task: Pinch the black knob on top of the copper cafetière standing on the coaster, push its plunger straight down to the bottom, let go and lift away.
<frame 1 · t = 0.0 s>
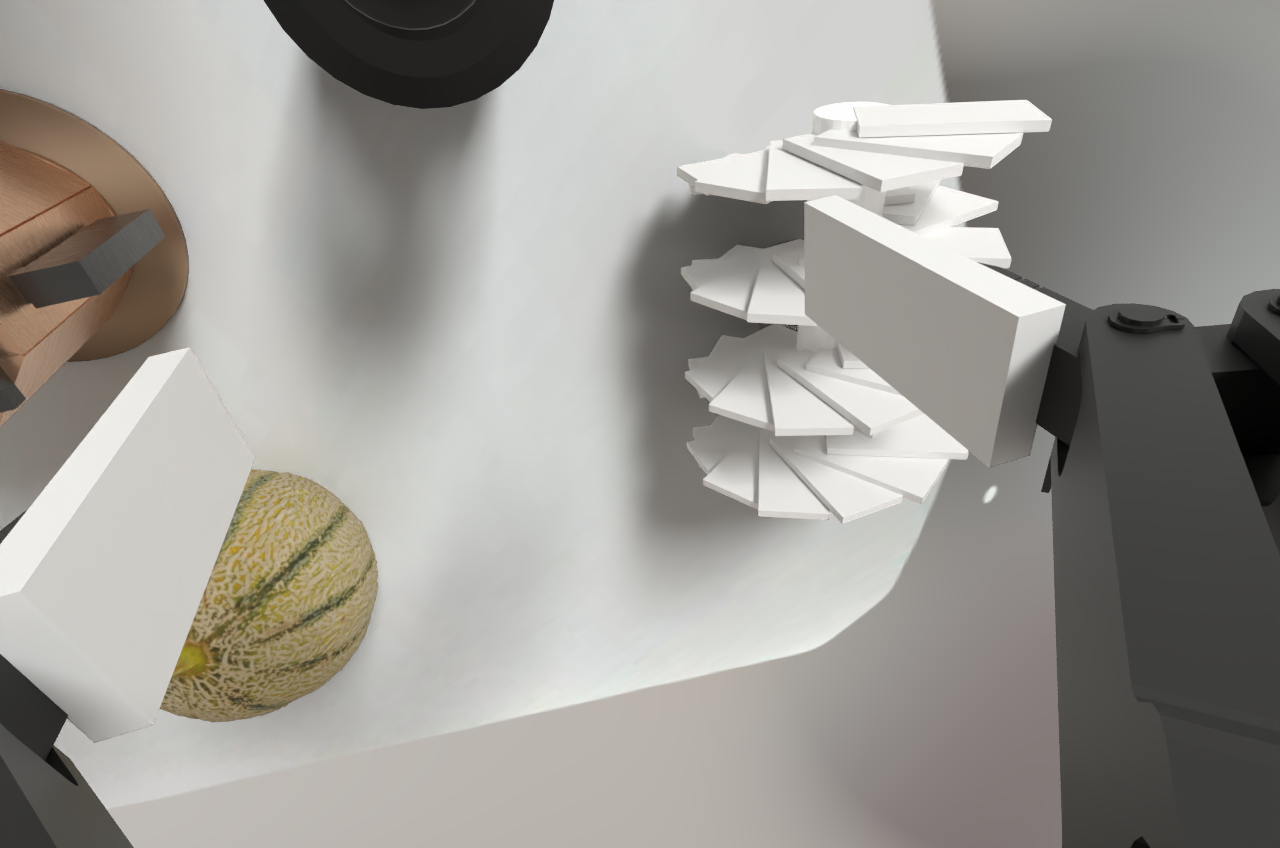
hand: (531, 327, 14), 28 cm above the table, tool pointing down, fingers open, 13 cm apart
carafe: (25, 238, 34), resting on coaster
coaster: (31, 235, 35), on the table
spiral staircase: (768, 282, 48), on the table
cantaloupe: (274, 513, 47), on the table
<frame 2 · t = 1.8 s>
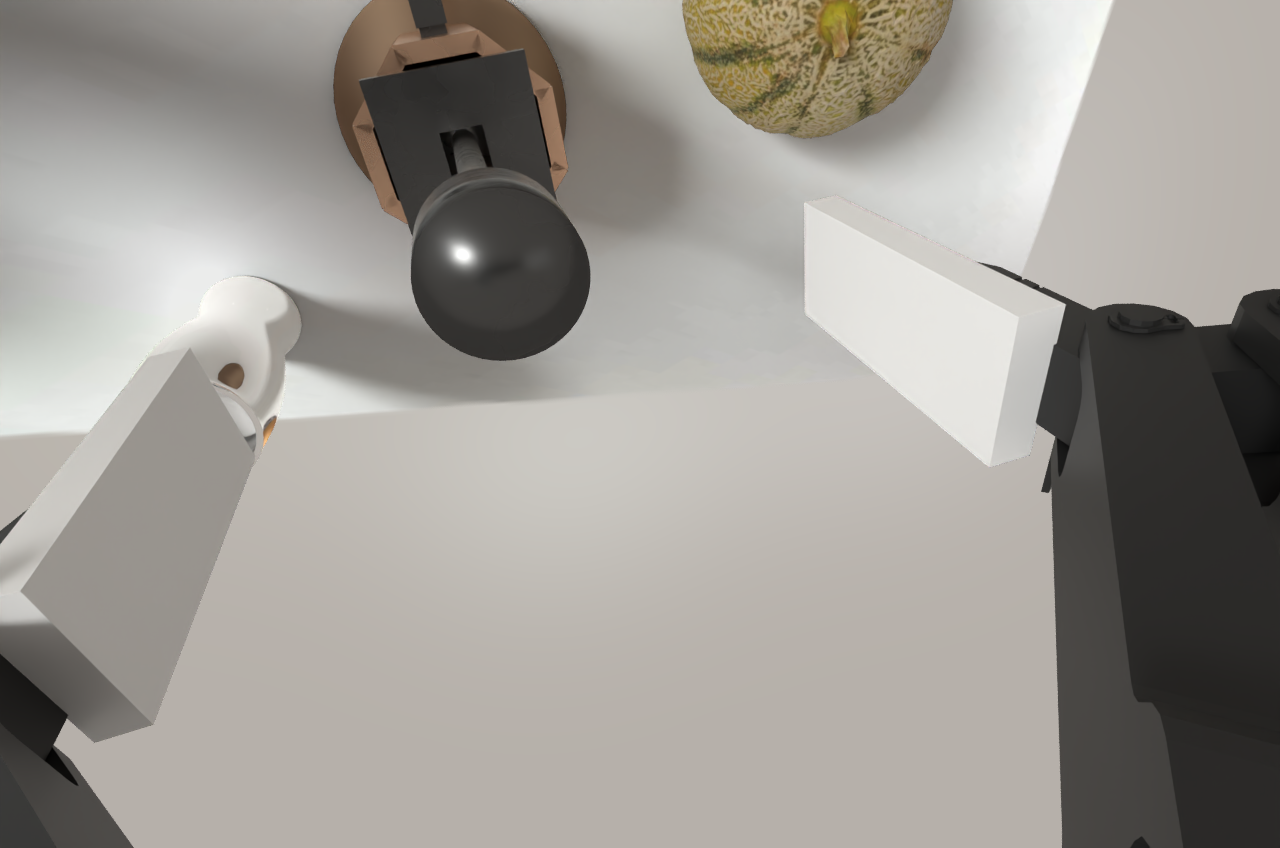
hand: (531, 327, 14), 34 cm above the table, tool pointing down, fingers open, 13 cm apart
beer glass: (253, 316, 46), on the table
carafe: (455, 112, 42), resting on coaster
coaster: (455, 110, 42), on the table
plunger: (476, 186, 25), point 21 cm above the table, slide at 0.0 cm
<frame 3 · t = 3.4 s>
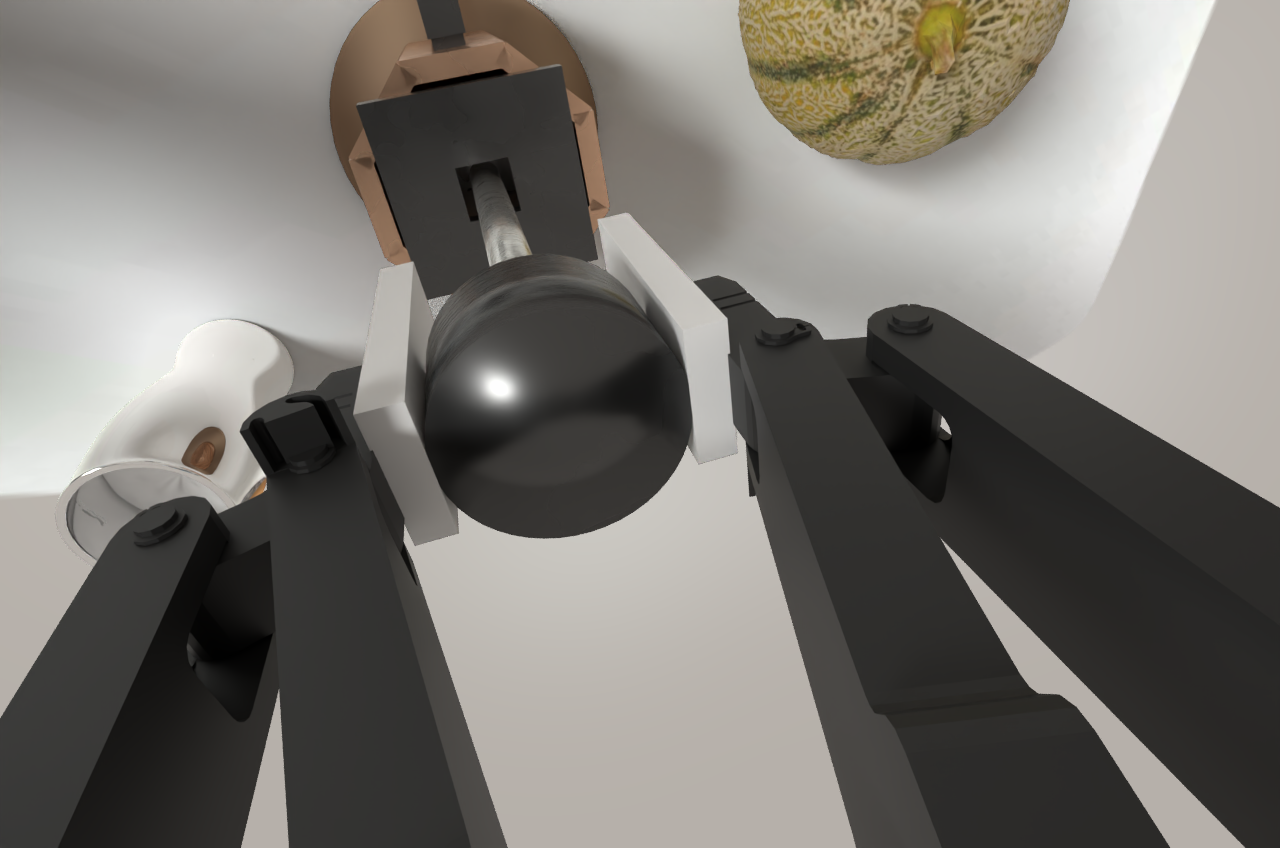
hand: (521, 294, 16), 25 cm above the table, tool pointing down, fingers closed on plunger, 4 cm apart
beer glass: (238, 364, 40), on the table
carafe: (471, 133, 36), resting on coaster
coaster: (470, 131, 36), on the table
plunger: (506, 245, 19), point 21 cm above the table, slide at 0.0 cm, touching gripper
cantaloupe: (820, 0, 38), on the table
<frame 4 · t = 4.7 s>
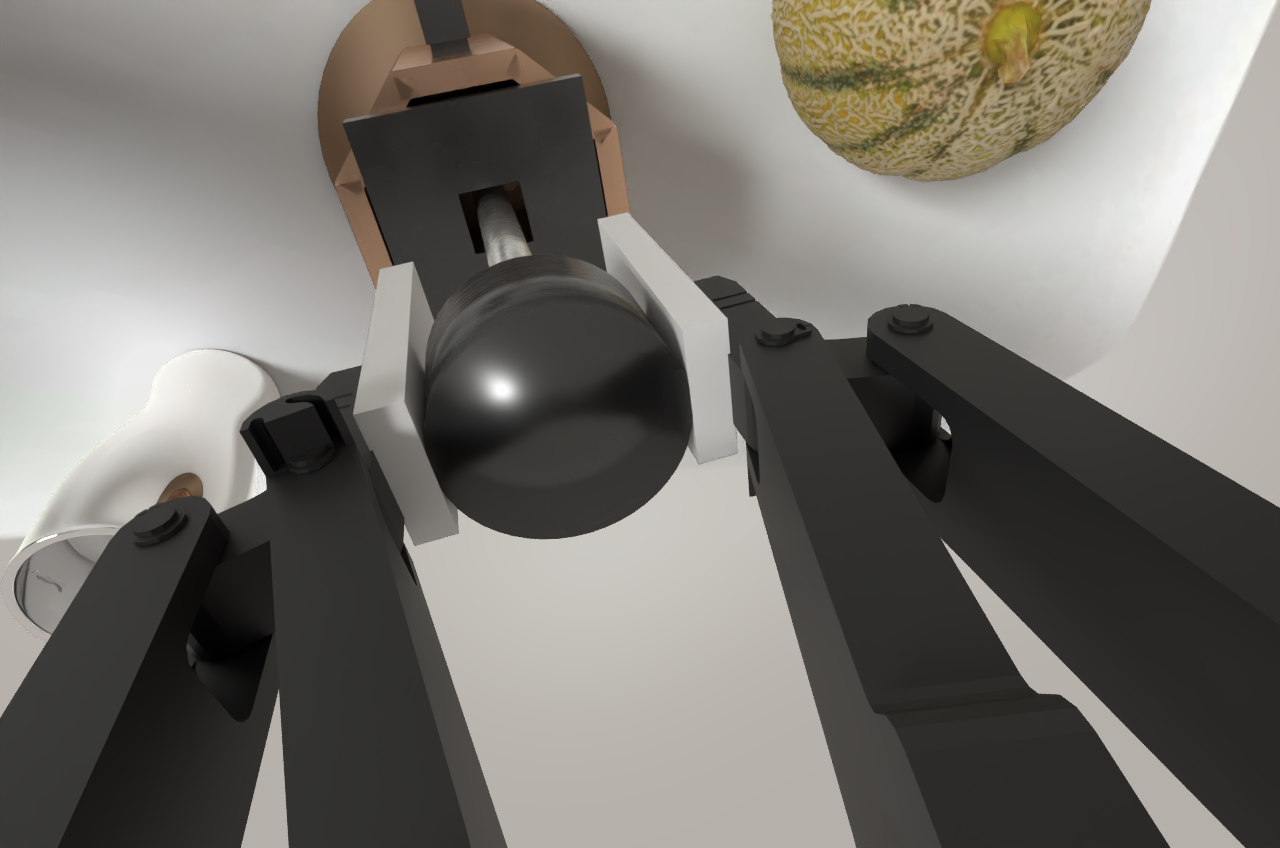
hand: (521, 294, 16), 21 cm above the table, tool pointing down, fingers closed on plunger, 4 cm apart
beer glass: (220, 396, 37), on the table
carafe: (474, 146, 33), resting on coaster
coaster: (473, 143, 33), on the table
plunger: (505, 245, 19), point 17 cm above the table, slide at 4.0 cm, touching gripper
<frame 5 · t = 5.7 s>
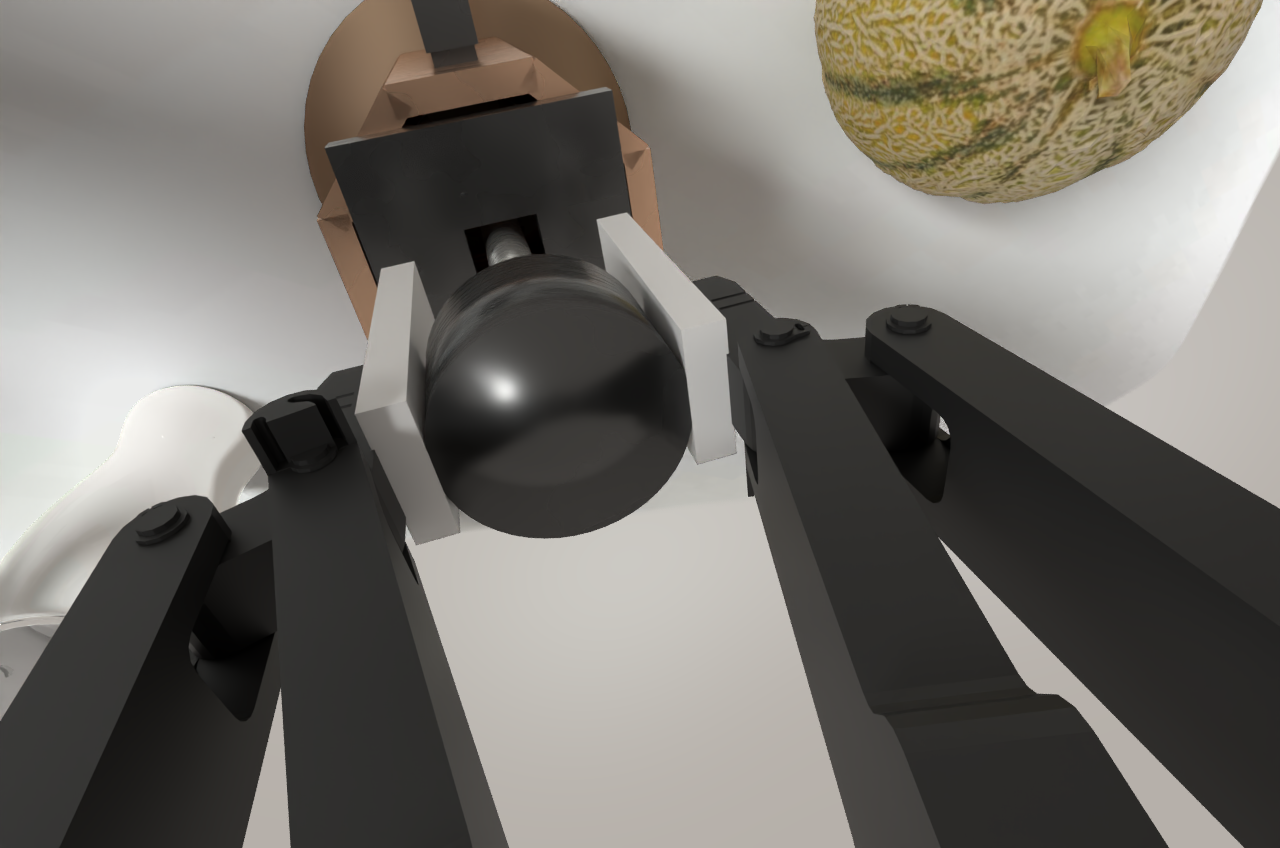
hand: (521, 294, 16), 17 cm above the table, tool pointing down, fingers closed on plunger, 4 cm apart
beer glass: (200, 435, 33), on the table
carafe: (479, 162, 29), resting on coaster
coaster: (478, 159, 30), on the table
plunger: (505, 245, 19), point 13 cm above the table, slide at 8.1 cm, touching gripper
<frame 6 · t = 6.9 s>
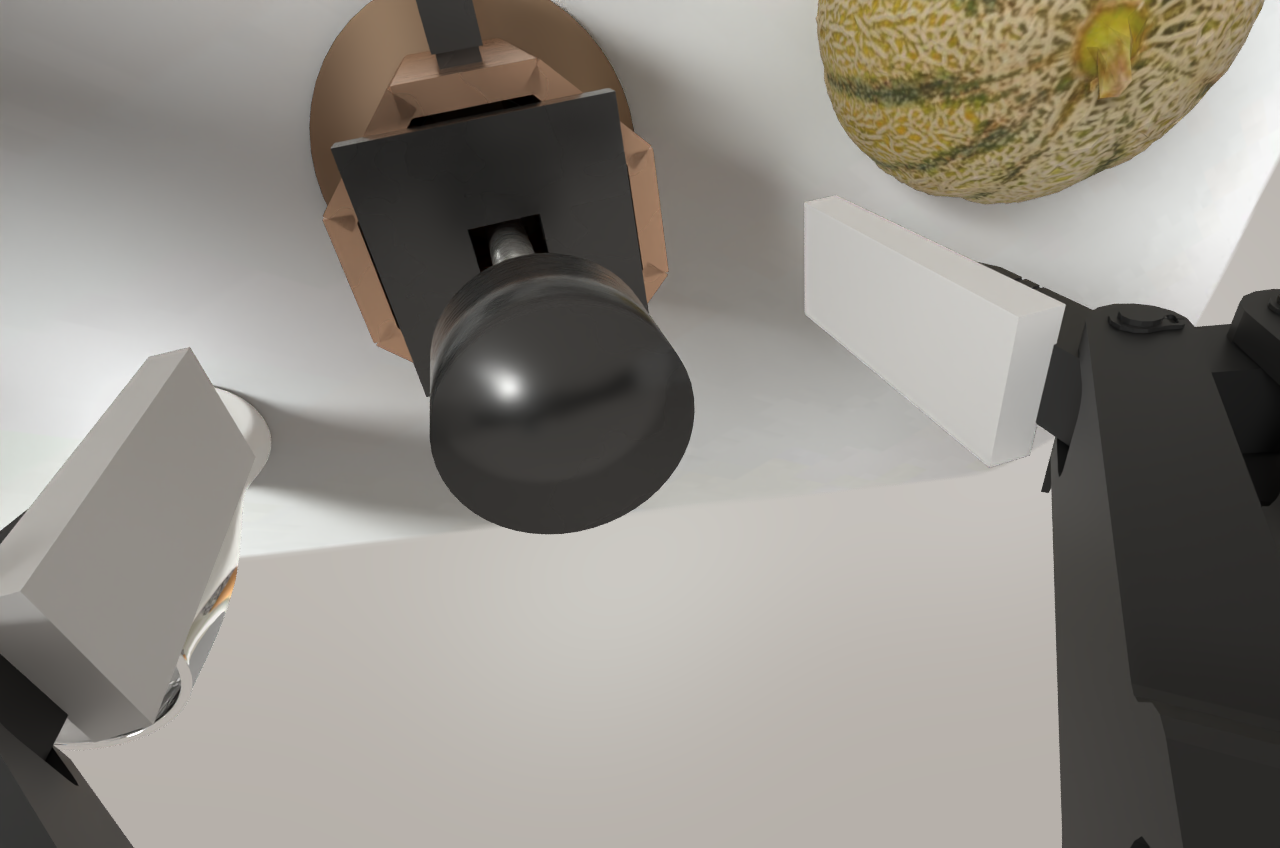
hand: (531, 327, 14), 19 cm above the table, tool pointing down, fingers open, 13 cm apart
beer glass: (205, 434, 34), on the table
carafe: (483, 162, 30), resting on coaster
coaster: (482, 160, 30), on the table
plunger: (509, 245, 20), point 13 cm above the table, slide at 8.1 cm
cantaloupe: (903, 0, 31), on the table
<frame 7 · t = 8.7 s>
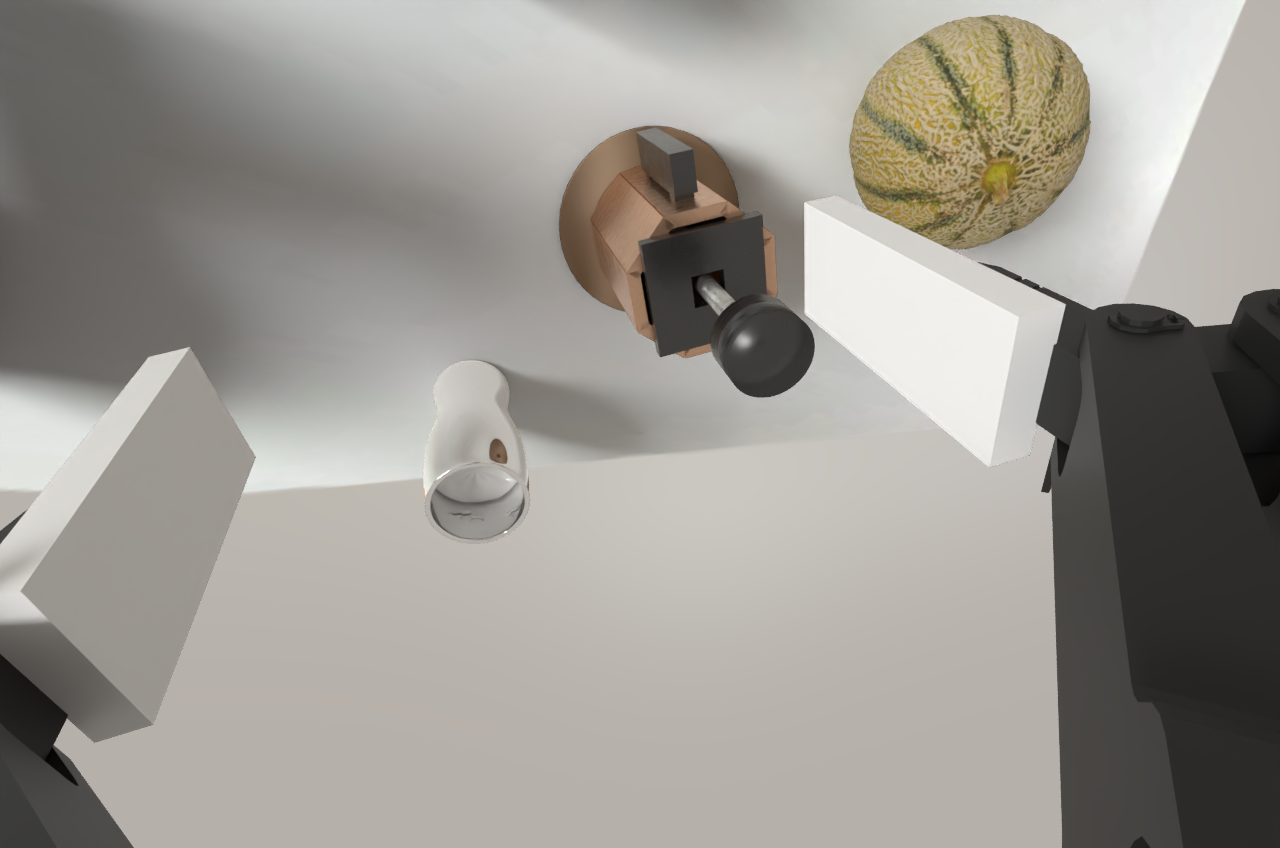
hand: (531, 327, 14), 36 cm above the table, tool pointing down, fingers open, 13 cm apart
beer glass: (471, 391, 55), on the table
carafe: (652, 227, 50), resting on coaster
coaster: (650, 224, 51), on the table
plunger: (703, 282, 40), point 13 cm above the table, slide at 8.1 cm
cantaloupe: (901, 122, 52), on the table
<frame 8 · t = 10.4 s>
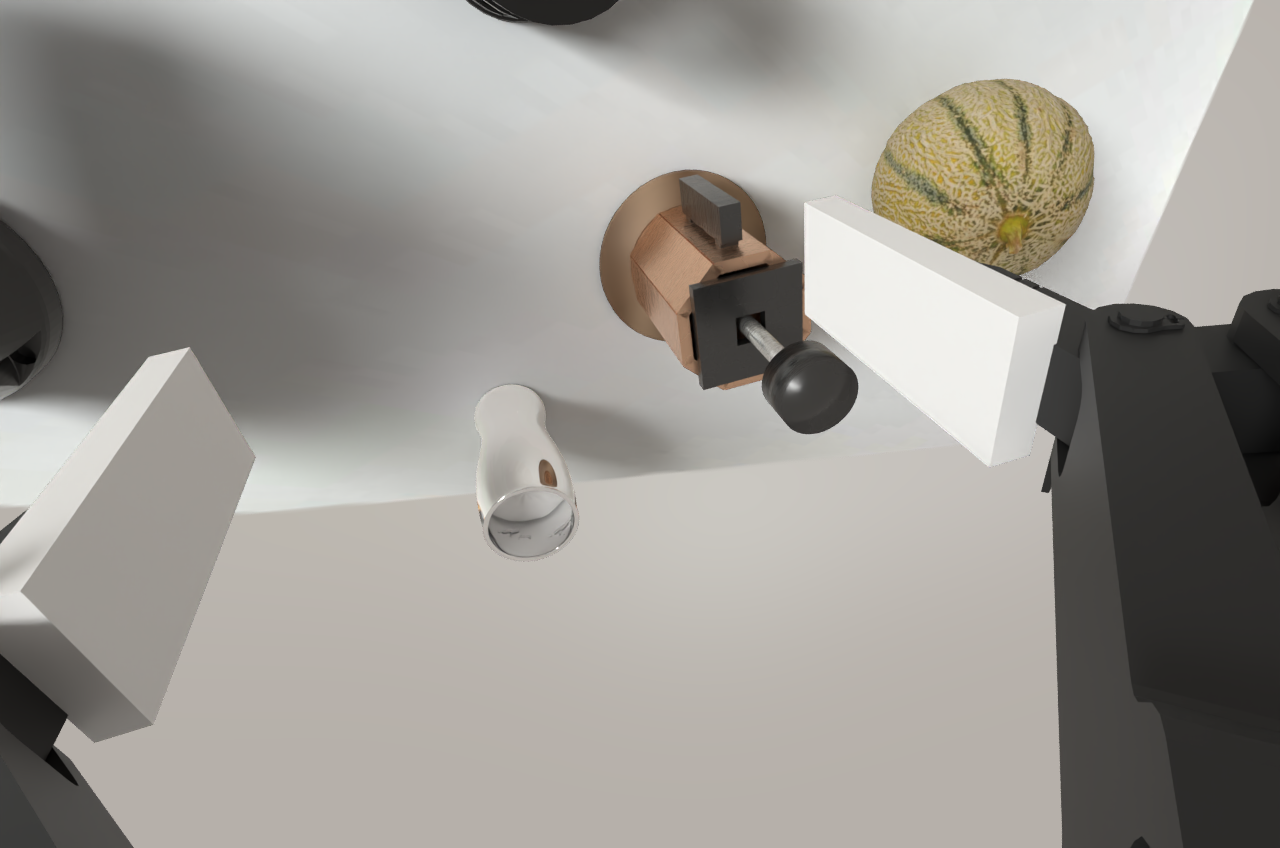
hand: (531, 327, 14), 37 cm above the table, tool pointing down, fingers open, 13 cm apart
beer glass: (509, 413, 58), on the table
carafe: (685, 262, 54), resting on coaster
coaster: (683, 259, 54), on the table
plunger: (744, 321, 44), point 13 cm above the table, slide at 8.1 cm
cantaloupe: (916, 167, 56), on the table
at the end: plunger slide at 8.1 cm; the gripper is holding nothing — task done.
